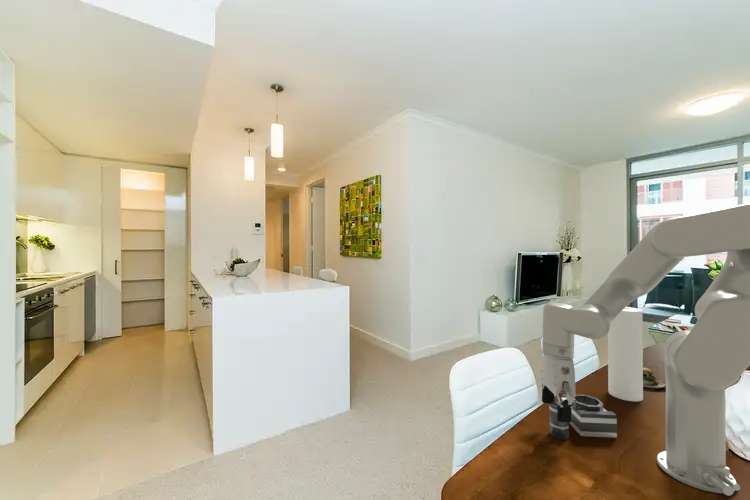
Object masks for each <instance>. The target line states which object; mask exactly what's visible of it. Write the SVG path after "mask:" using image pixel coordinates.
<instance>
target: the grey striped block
mask: <svg viewBox="0 0 750 500" xmlns="http://www.w3.org/2000/svg"><path fill="white" fill-rule="evenodd" d="M561 398H562V402H563V401H564V400H565V399H566V398H563V397H561ZM573 403H574V404H573V407H572V410H571V422H570V423H569V425H570V426H571V427H572V428H573V429H574V430H575V431H576V433H577V434H579V436H581V437H590V438H591V437H595V438H610V439H611V438H614V439H615V438H616V439H617V438H618V421H617V420H618V415H617V414H616V413H614V411H609V410H606V408H604V403H603V401H601V400H600V399H598V398H597V397H593V396H590V395H587V394H576V393H575V399H574V402H573Z"/></svg>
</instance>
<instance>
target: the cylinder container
mask: <svg viewBox="0 0 750 500" xmlns="http://www.w3.org/2000/svg"><path fill="white" fill-rule="evenodd" d="M643 326H644V324H643V309H641V308H636V307H631V306H626V307H625V308H624V309H623V310H622V311H621V312H620V313H619V314H618V315H617V316H616V317H615V318H614V320H613V321H612V322H611V327H610V331H609V333H608V334H607V373H608V374H607V378H608V380H607V381H608V382H607V384H608V385H607V386H608V388H607V389H608V394H609V395H611V396H612V397H614V398H617V399H619V400H623V401H628V402H641V401H644V386H643V368H644V361H643V360H644V353H643V352H644V348H643V346H644V345H643V343H644V341H643V339H644V337H643V335H644V334H643V331H644V330H643Z"/></svg>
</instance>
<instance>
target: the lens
mask: <svg viewBox="0 0 750 500" xmlns="http://www.w3.org/2000/svg"><path fill="white" fill-rule="evenodd" d="M558 405H559V402H558V401H554V402H551V403H549V405H548V406H549V407H548V408H549V431H550V432H549V434H550V435H551V436H552V437H553V438H554V439H557V440H562V441H563V440H569V438H570V432H569V431H570V430H569V428H570V423H569V422H559V421H558V420H557V406H558Z"/></svg>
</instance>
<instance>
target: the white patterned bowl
mask: <svg viewBox="0 0 750 500" xmlns="http://www.w3.org/2000/svg"><path fill="white" fill-rule="evenodd" d="M645 366H646V365H645V364H643V388H644V387H645V388H648V389H649V388H650V389H661V388H664V389H665V390H666V381H663V380H661V379H659V378H656V376H654V375H653V373H654V372H653V371H652V370H651V368H648V367H645Z"/></svg>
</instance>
